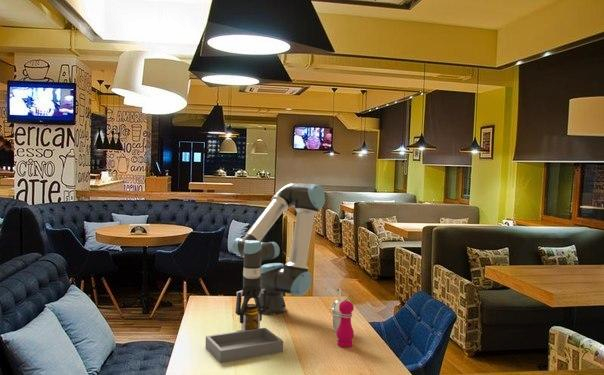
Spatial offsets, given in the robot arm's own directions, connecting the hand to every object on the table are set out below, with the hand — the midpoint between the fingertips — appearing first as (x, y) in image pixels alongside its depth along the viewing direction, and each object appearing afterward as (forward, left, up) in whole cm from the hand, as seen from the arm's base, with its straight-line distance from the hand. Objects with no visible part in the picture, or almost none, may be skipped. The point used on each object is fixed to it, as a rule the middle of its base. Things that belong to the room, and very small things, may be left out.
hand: (250, 329), depth 226 cm
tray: (+10, +18, -1) cm, 20 cm away
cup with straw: (-37, +13, -2) cm, 39 cm away
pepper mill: (-30, +29, -2) cm, 42 cm away
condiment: (+1, 0, -2) cm, 2 cm away
